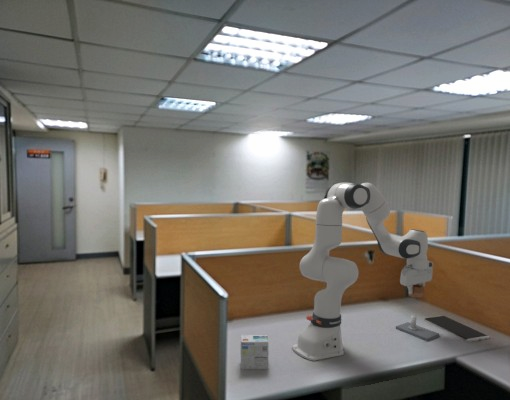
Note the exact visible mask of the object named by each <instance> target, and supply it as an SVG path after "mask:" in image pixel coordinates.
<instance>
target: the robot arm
mask: <svg viewBox="0 0 510 400" xmlns="http://www.w3.org/2000/svg"><path fill="white" fill-rule="evenodd" d="M345 209H352V210H353V209H354V210H355V209H356V210H357V209H360V210H361V211H362V213H363V214H364V216H365V219H366V222H367V224H368V227H369V229H370V230H371V232H372V233H373V235H374V237H375V239H376V242H377V245H378V249H379V251H380V253H382V254H383V255H386V256H393V257H396V258H401V259H406V265H404V267H402V269H401V272H400V277H399V283H400V285H402V286H404V287H407V288H406V289H407V290H408V292H407V293H408V295H409V294H414V290H413V289H412V287H413V285H415V284H418V285H422V286H423V287H424V288H425V286H426V283H428V282H431V281H432V280H433V274H434V273H433V270H434V269H433V267H434V262H432V261H430V260H428V255H427V252H428V249H429V248H428V246H429V244H428V242H429V239H428V235H427V233H426V231H424V230H420V229H413V228H411V229H409V230H408V232H407V233H406V234H404V235H402V236H399V235H394V234H392V233H390V232H389V231H388V230H387V228H386V226H385V224H384V221H386V220H387V219H388V218H389V216H390V214H391V208H390V205H389V203H388V201H387V200H386V198H385V197H384V196H383V194H382V192H380V190H379V189H378V188H377V187H376V186H375V185H374V184H373V183H370V182H363V183H357V182H356V183H355V182H354V183H353V182H347V181H345V182H343V181H342V182H334V183H332V184H330V185H329V186H328V187H327V189H326V191H325V194H324V197H323V199H321V200H319V202H318V205H317V209H316V216H315V234H314V241H313V244H312V247H311V249H310V250H309V252H307V254H305V255H304V256H303V257H302V258H301V259H300V261H299V271H300V273H301V275H302V276H303V277H304V278H307V279H309V280H312V281H318V282H323V283H326V288H323V289H321V290H318V291H317V292H316V294H315V295H314V299H313V301H314V302H313V305H314V306H313V309H314V310H313V313H312V315H310V314H307V315H306V317H305V319H306V320H307V321H310V323H309V324H308V325H307V326H306V327H305V328H304V329H303V330H302V331H301V332H299V335H298V339H297V342H296V343H294V344H293V345H292V346H291V348H292V351H293V352H294V353H295V354H297V355H298V356H300V357H302V358H304V359H305V360H309V361H315V362H316V361H319V360H325V359H328V358H329V359H330V358H335V357H339V356H343V355H345V351H344V348H345V347H344V344H343V337H342V328H341V324H342V314H341V306H342V305H341V304H342V297H343V295H344V293H345V291H346V290H347V289H348V288H349V287H350V286H352V285H353V284H355V282H357V280H358V278H359V268H358V266H357V264H356V262H354V261H353V260H352V261H351V260H350V259H346V258H342V257H335V256H330V251H331V250H333V249H336V248H338V247H339V246H340V245H341V244H342V240H343V213H344V211H345Z"/></svg>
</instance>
